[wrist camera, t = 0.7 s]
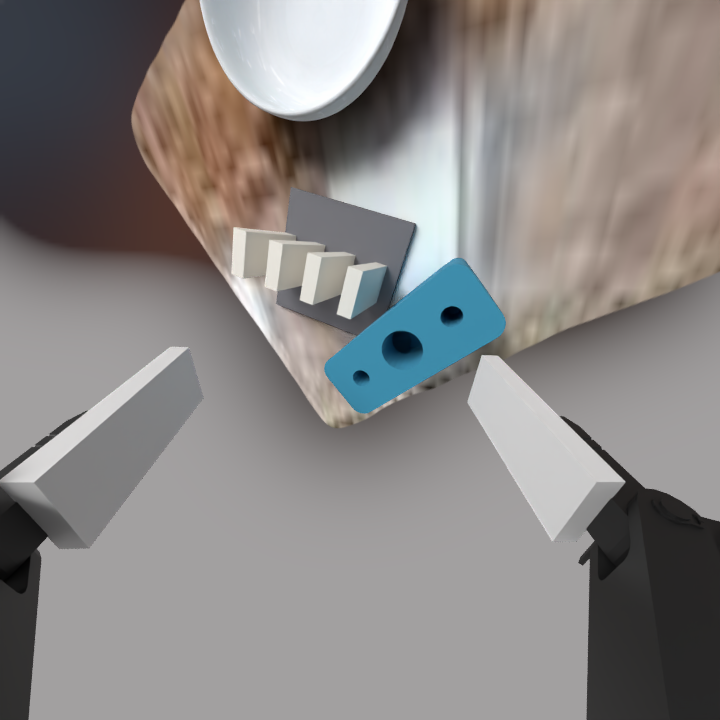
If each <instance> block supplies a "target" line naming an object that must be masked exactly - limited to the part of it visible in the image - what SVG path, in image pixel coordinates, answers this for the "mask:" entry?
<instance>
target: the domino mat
mask: <svg viewBox="0 0 720 720" xmlns="http://www.w3.org/2000/svg"><path fill="white" fill-rule="evenodd" d="M415 225H416V224H415V223H412V222H408V221H405V220H402V219H398V218H395V217H391V216H388V215H385V214H381V213H378V212H374V211H371V210H368V209H364V208H361V207H357V206H354V205H351V204H347V203H344V202H340V201H337V200H333V199H330V198H327V197H323V196H320V195H316V194H313V193H310V192H306V191H303V190H299V189H296V188H293V187H291V192H290V200H289V207H288V215H287V223H286V231H285V233H289V234H292V235H295V236H296V241H305V242H316V243H319V244H322V245H325V250H324V252H347V253H350V254H353V255H356V256H355V260H354V265H360V264H367V263H374V262H377V263H380V264H383V265H386V266H387V269H386V272H385V276H384V279H383V282H382V286H381V289H380V292H379V296H378V299H377V302H376V303H375V304H374V305H372V306H371V307H369V308H368V309H366V310H364V311H363V312H361V313H360V314H358V315H357V316H355V317H353V318H352V319H348V318H345V317H343V316H340V315H337V311H338V306H339V302H340V298H341V295H338V296H335V297H333V298H330V299H327V300H325V301H322V302H319V303H317V304H314V305H311V304H309V303H306V302H303V301H301V300H300V295H301V289H302V286H299V287H294V288H290V289H285V290H281V291H278V294H277V302H276V304H278V305H280V306H283V307H285V308H288V309H291V310H293V311H296V312H298V313H301V314H303V315H306V316H309V317H311V318H314V319H316V320H319V321H321V322H324V323H326V324H329V325H332V326H334V327H337V328H339V329H342V330H344V331H347V332H349V333H352V334H355V335H357V336H358V335H359V334H360V333H361V332H363V331H364V330H365V329H366V328H367V327H369V326H370V325H371V324H372V323H373V322H375V321H376V320H377V319H378V318H379V317H381V316H382V315H383V314H384V313H385V312H387V311H388V308H389V305H390V302H391V299H392V296H393V293H394V290H395V287H396V284H397V280H398V277H399V274H400V271H401V268H402V265H403V262H404V259H405V256H406V253H407V250H408V247H409V244H410V240H411V237H412V234H413V231H414V228H415Z"/></svg>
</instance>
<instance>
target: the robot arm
mask: <svg viewBox="0 0 720 720" xmlns="http://www.w3.org/2000/svg"><path fill="white" fill-rule="evenodd" d="M202 399H203V395H202V391H201V387H200V384H199V381H198V377H197V374H196V370H195V367H194V363H193V360H192V357H191V353H190V350H189V347H170V348H168V349H167V350H166V351H165V352H163V353H162V354H161V355H159V356H158V357H157V358H156V359H154V360H153V361H152V362H150V363H149V364H148V365H147V366H145V367H144V368H143V369H141V370H140V371H139V372H138V373H136V374H135V375H134V376H133V377H131V378H130V379H129V380H127V381H126V382H125V383H124V384H122V385H121V386H120V387H118V388H117V389H116V390H115V391H113V392H112V393H111V394H109V395H108V396H107V397H106V398H104V399H103V400H102V401H101V402H99V403H98V404H97V405H96V406H94V407H93V408H92V409H90V410H89V411H85V412H83V413H82V414H79V415H77V416H75V417H73V418H72V419H70V420H68V421H66V422H64V423H63V424H62V425H61V426H59V427H58V428H57V429H55V430H54V431H53V432H52V433H50V436H46V437H45V438H43V439H42V440H41V441H39V442H38V443H37V444H36V446H35V447H31V448H30V449H29V450H27V451H26V452H25V453H23V454H22V455H21V456H19V457H18V458H17V459H15V460H14V461H13V462H12V463H10V464H9V465H8V466H6V467H5V468H4V469H2V470H1V471H0V720H28V717H29V706H30V692H31V680H32V668H33V656H34V643H35V630H36V618H37V606H38V594H39V581H40V568H41V556H40V552H39V551H38V550H37V548H38V546H39V545H40V544H41V543H42V542H43V541H44V540H45V539H46V538H47V537H49V539H50V540H51V541H52V542H53V543H54V544H55V545H56V546H57V547H58V548H59V549H74V548H75V549H77V548H78V549H79V548H90V546H91V545H92V544H93V542H94V541H95V540H96V539H97V537H98V536H99V535H100V533H101V532H102V531H103V529H104V528H105V527H106V525H107V524H108V523H109V521H110V520H111V519H112V517H113V516H114V515H115V514H116V512H117V511H118V510H119V508H120V507H121V506H122V504H123V503H124V502H125V501H126V499H127V498H128V497H129V495H130V494H131V493H132V491H133V490H134V489H135V487H136V486H137V485H138V483H139V482H140V481H141V479H142V478H143V477H144V475H145V474H146V473H147V472H148V470H149V469H150V468H151V466H152V465H153V464H154V462H155V461H156V460H157V459H158V457H159V456H160V455H161V453H162V452H163V451H164V449H165V448H166V447H167V445H168V444H169V443H170V442H171V440H172V439H173V438H174V436H175V435H176V434H177V432H178V431H179V430H180V428H181V427H182V425H183V424H184V423H185V422H186V420H187V419H188V418H189V417H190V415H191V414H192V413H193V411H194V410H195V409H196V407H197V406H198V405H199V403H200V402H201V401H202ZM467 403H468V405H469V406H470V408H471V409H472V411H473V413H474V414H475V416H476V417H477V419H478V421H479V423H480V424H481V426H482V427H483V429H484V431H485V432H486V434H487V436H488V437H489V439H490V441H491V442H492V444H493V445H494V447H495V449H496V450H497V452H498V454H499V455H500V457H501V459H502V460H503V462H504V463H505V465H506V467H507V468H508V470H509V472H510V473H511V475H512V476H513V478H514V480H515V481H516V483H517V485H518V486H519V488H520V490H521V491H522V493H523V494H524V496H525V498H526V499H527V501H528V503H529V504H530V506H531V507H532V509H533V511H534V512H535V514H536V515H537V517H538V519H539V521H540V522H541V524H542V526H543V527H544V529H545V530H546V532H547V534H548V535H549V537H550V539H551V540H552V542H575V541H576V542H577V541H578V540H579V538H580V537H581V536H582V535H583V533H584V532H585V531H586V530H587V531H588V532H589V533H590V535H591V536H592V538H593V539H594V540H595V541H594V542H593V543H592V545H591V546H590V547H589V548H588V549H587V550H586V551H585V553H584V554H583V555H582V556H581V557H580V560H579V563H580V564H581V565H584V564H585V563H586V561H587V560H588V559H590V580H589V581H590V582H589V630H588V633H589V634H588V677H587V680H588V681H587V720H720V522H719V521H715V520H711V519H707V518H704V517H701V516H700V515H698V514H697V513H696V512H695V511H694V510H693V509H692V508H690V507H689V506H687V505H686V504H684V503H683V502H682V501H680V500H678V499H676V498H674V497H673V496H671V495H669V494H667V493H663V492H660V491H657V490H654V489H645V488H644V487H643V486H642V485H641V484H640V483H639V482H638V481H637V480H636V479H634V478H633V477H632V476H631V475H630V474H629V473H628V472H627V471H626V470H625V469H624V468H623V467H622V466H621V465H620V464H618V463H617V462H616V461H615V460H614V459H613V458H612V457H611V456H610V455H609V454H608V453H607V452H606V451H605V450H602V449H601V446H600V445H598V444H597V443H596V442H595V441H594V440H591V437H590V436H589V435H588V434H587V433H586V432H585V431H584V430H583V429H582V428H581V427H579V426H578V425H576V424H575V423H573V422H572V421H570V420H568V419H567V418H565V417H562V416H558V415H557V414H556V413H555V412H554V411H553V410H552V409H551V408H550V407H549V406H548V405H547V404H546V403H545V402H544V401H543V400H542V399H541V398H540V397H539V396H538V395H537V394H536V393H535V392H534V391H533V390H532V389H531V388H530V387H529V386H528V385H527V384H526V383H525V382H524V381H523V380H522V379H521V378H520V377H519V376H518V375H517V374H516V373H515V372H514V371H513V370H512V369H511V368H510V367H509V366H508V365H507V364H506V363H505V362H504V361H503V360H502V359H501V358H500V357H499V356H493V355H482V356H481V359H480V363H479V366H478V369H477V372H476V376H475V379H474V383H473V385H472V389H471V392H470V395H469V398H468V402H467Z"/></svg>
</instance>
